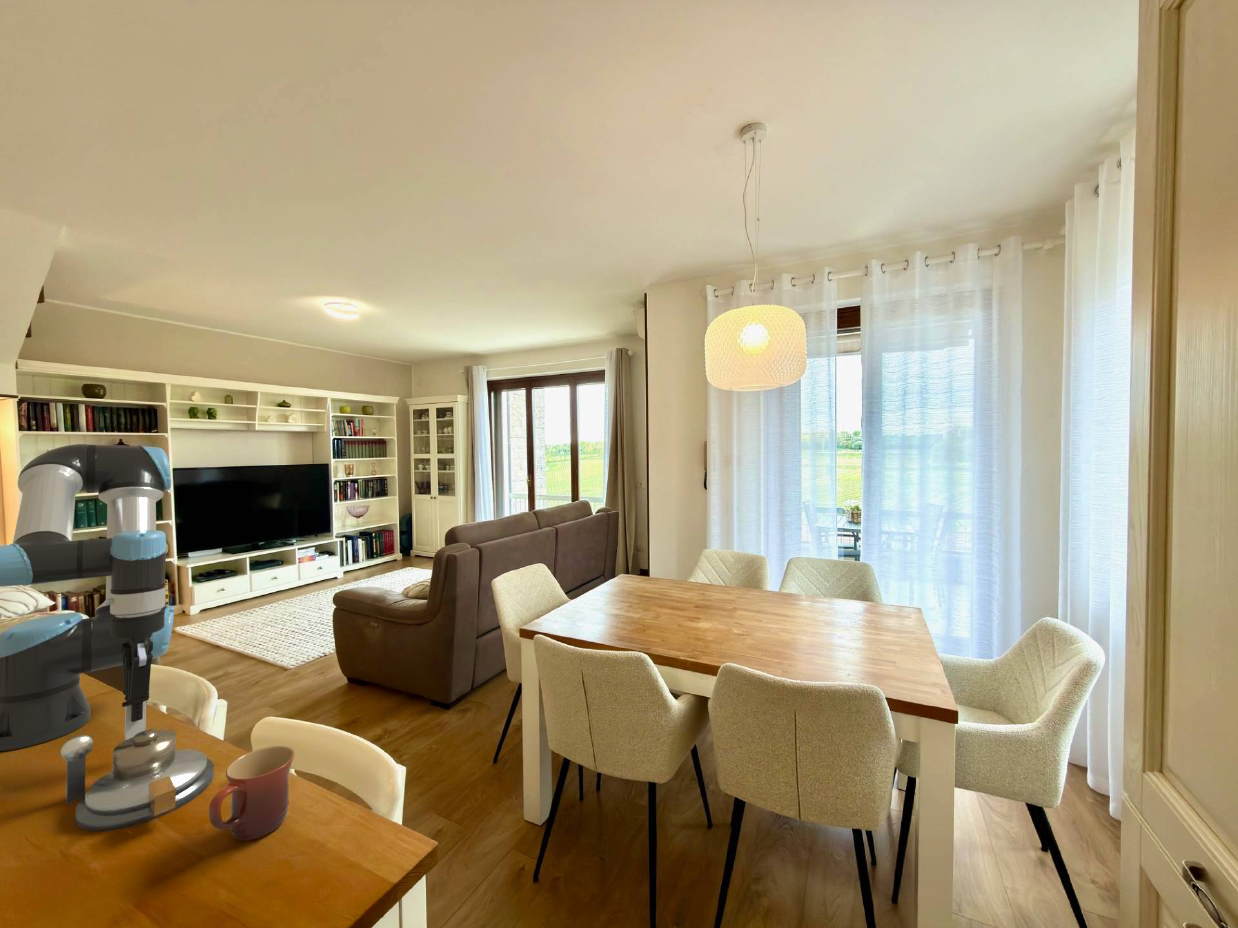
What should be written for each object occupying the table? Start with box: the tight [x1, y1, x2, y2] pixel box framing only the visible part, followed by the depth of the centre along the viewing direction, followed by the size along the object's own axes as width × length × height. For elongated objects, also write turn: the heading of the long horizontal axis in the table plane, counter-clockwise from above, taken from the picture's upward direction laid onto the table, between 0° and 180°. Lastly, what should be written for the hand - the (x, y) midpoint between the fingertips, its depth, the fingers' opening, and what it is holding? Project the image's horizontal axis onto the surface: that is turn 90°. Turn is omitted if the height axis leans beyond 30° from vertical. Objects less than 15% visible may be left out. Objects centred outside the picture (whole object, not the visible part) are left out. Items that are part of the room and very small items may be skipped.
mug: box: [208, 745, 296, 841], centre depth 75 cm, size 12×9×10 cm
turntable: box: [85, 748, 208, 816], centre depth 82 cm, size 20×15×4 cm
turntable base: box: [74, 757, 215, 832], centre depth 83 cm, size 17×17×2 cm
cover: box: [112, 728, 177, 779], centre depth 86 cm, size 8×8×6 cm
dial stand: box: [60, 734, 94, 805], centre depth 82 cm, size 3×4×11 cm
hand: (135, 735), depth 92 cm, fingers closed
